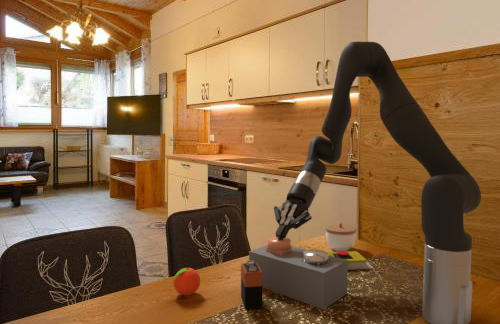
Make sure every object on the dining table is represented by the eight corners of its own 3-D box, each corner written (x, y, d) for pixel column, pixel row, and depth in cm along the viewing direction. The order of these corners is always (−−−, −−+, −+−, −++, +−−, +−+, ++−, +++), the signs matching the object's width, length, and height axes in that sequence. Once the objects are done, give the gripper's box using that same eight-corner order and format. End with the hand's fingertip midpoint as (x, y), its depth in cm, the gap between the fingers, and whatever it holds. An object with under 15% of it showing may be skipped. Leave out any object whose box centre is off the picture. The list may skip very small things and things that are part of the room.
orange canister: (294, 270, 106) (295, 239, 106) (281, 277, 102) (281, 244, 101) (277, 265, 111) (277, 235, 110) (263, 271, 106) (263, 240, 105)
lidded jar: (339, 255, 129) (339, 228, 128) (319, 247, 139) (319, 222, 138) (361, 250, 134) (362, 224, 134) (341, 242, 144) (341, 218, 143)
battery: (257, 296, 97) (257, 258, 96) (262, 308, 90) (263, 268, 90) (240, 297, 96) (240, 259, 95) (245, 310, 90) (245, 269, 89)
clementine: (181, 304, 93) (181, 276, 92) (164, 296, 97) (164, 269, 97) (205, 293, 99) (205, 267, 98) (188, 286, 103) (188, 261, 103)
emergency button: (319, 248, 124) (362, 247, 126) (318, 261, 125) (362, 260, 126) (327, 257, 115) (374, 256, 117) (327, 271, 116) (374, 270, 117)
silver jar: (332, 286, 98) (333, 252, 98) (319, 294, 94) (320, 259, 93) (311, 280, 103) (312, 247, 102) (298, 287, 98) (298, 253, 97)
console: (347, 293, 99) (347, 260, 98) (323, 309, 90) (323, 273, 89) (275, 270, 115) (275, 242, 114) (249, 282, 106) (249, 251, 105)
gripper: (281, 179, 116) (255, 226, 107) (318, 184, 107) (292, 235, 99) (291, 194, 120) (266, 240, 112) (327, 199, 111) (303, 250, 103)
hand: (279, 237), depth 105 cm, fingers closed
